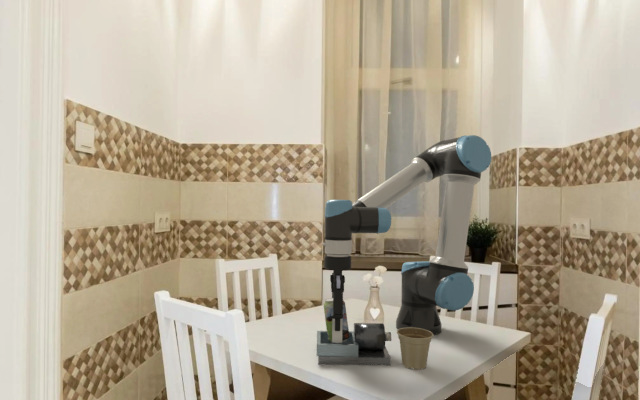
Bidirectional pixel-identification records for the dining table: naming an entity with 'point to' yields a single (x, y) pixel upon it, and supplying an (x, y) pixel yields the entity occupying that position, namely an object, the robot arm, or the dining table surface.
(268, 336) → the dining table surface
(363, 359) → the motor housing
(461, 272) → the robot arm
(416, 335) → the flower pot
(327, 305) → the beverage can
